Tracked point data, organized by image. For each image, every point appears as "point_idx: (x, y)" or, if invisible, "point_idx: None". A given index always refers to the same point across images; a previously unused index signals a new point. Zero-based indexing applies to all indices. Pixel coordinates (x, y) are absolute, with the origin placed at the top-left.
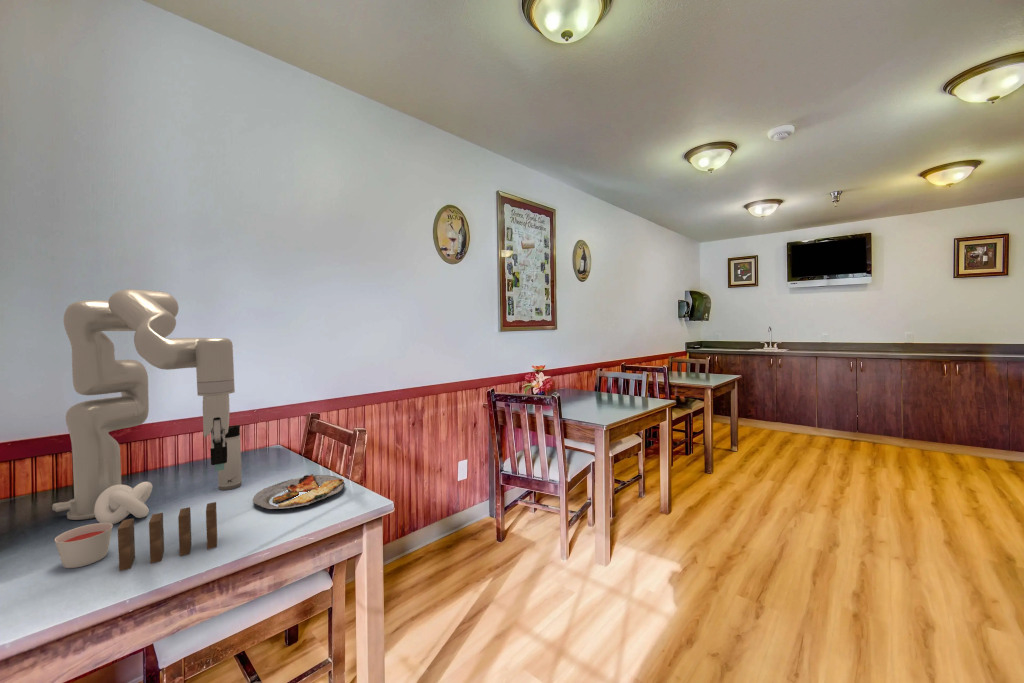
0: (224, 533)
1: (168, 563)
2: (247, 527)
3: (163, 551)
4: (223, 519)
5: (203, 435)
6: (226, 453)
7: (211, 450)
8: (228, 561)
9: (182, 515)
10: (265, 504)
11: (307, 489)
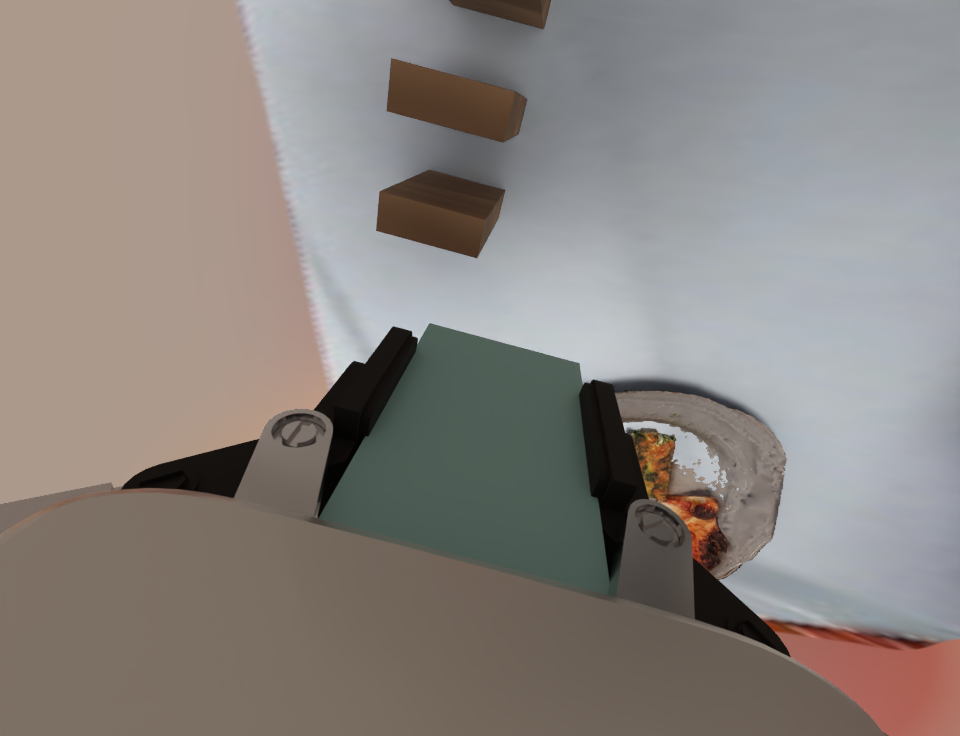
0: (522, 247)
1: (408, 28)
2: (509, 312)
3: (521, 22)
4: (663, 280)
5: (99, 495)
6: None
7: (341, 401)
8: (294, 199)
9: (394, 81)
10: (633, 409)
11: None
